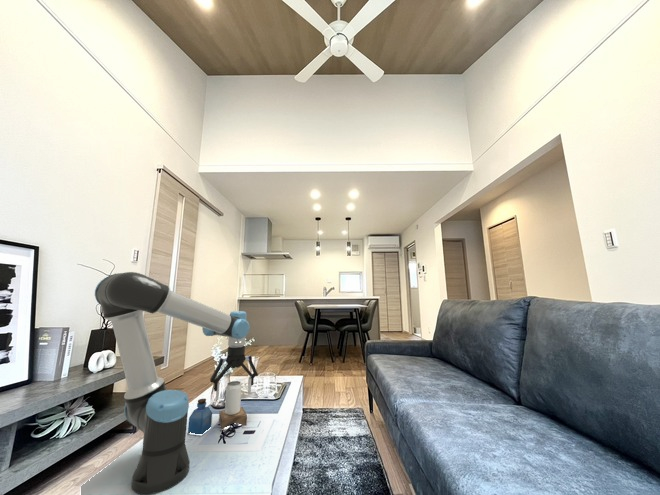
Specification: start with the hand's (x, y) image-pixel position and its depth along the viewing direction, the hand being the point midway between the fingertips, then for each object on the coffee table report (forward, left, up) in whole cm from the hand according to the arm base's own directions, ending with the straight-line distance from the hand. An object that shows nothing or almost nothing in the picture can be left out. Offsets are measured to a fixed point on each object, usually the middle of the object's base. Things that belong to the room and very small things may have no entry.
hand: (233, 396), depth 119 cm
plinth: (0, 0, -11) cm, 11 cm away
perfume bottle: (-13, -1, -11) cm, 17 cm away
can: (0, 0, -7) cm, 7 cm away
